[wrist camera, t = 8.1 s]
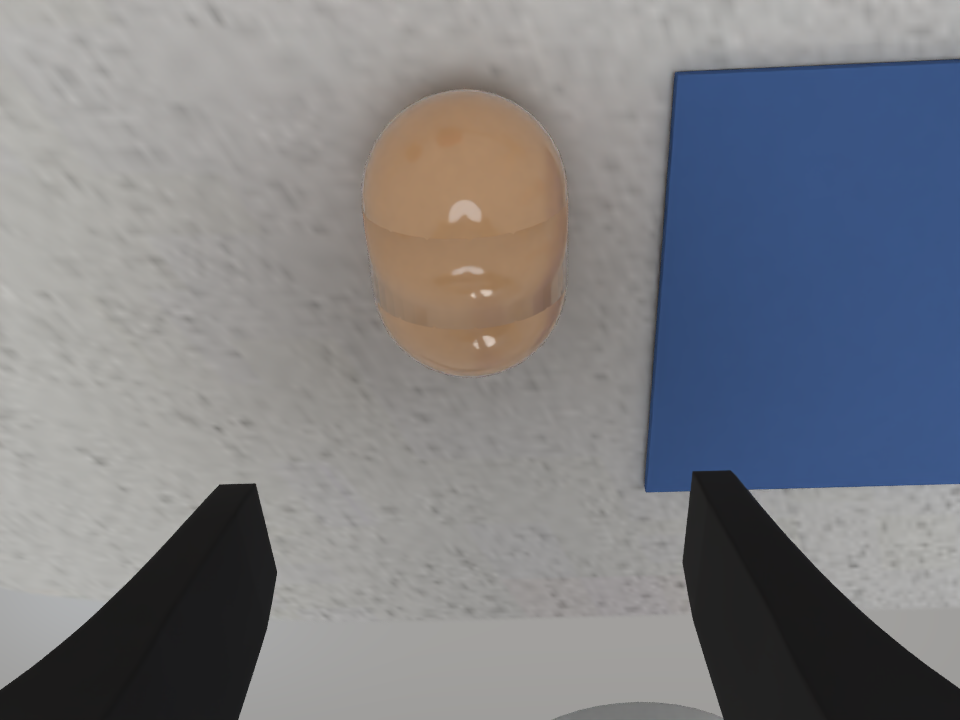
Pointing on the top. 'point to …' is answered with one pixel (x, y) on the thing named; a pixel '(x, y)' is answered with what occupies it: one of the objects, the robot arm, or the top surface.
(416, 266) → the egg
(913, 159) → the cloth
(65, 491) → the top surface
